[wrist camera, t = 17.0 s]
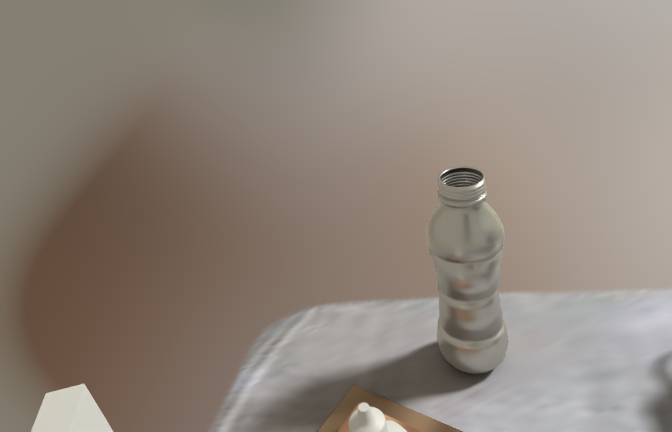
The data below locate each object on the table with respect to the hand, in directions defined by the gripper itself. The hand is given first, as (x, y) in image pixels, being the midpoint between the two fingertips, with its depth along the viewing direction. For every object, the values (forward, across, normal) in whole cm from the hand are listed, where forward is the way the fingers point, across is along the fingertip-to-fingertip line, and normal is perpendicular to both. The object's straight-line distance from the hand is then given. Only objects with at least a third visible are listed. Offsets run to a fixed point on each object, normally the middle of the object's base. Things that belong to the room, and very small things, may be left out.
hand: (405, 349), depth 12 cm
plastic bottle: (+28, +11, -32) cm, 44 cm away
